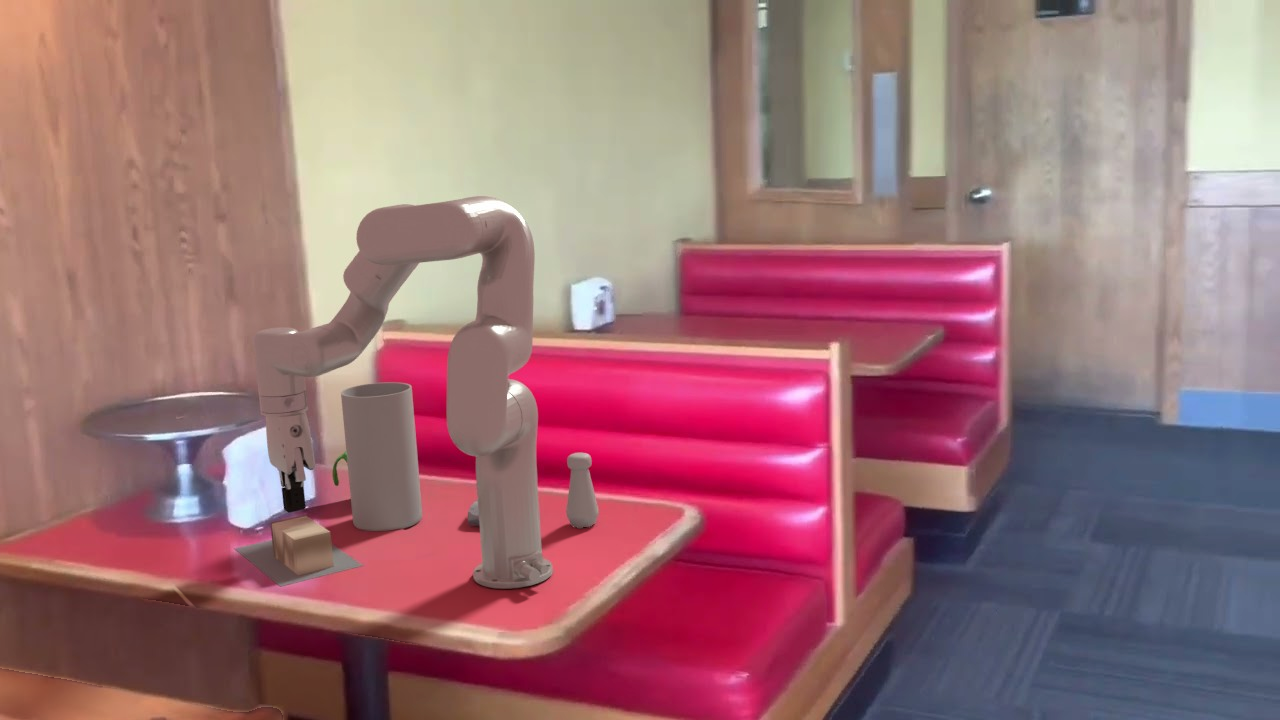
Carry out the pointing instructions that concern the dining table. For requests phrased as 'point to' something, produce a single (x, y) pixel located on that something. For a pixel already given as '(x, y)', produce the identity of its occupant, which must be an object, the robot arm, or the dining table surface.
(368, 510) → the cylinder vase
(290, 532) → the birch block
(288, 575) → the slate mat
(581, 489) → the salt shaker
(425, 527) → the dining table surface
